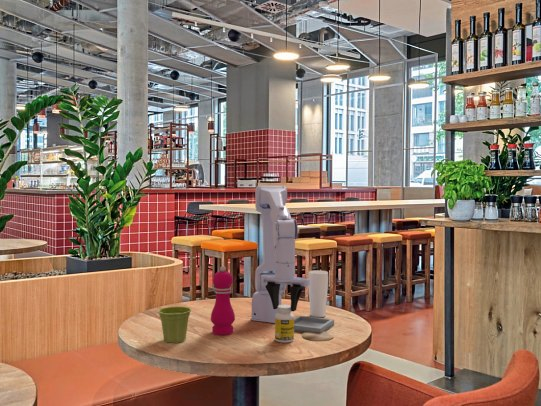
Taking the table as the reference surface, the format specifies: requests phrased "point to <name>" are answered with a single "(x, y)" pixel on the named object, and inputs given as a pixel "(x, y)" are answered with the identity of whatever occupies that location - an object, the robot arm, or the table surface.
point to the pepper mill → (222, 304)
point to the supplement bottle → (284, 324)
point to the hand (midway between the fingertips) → (284, 309)
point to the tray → (312, 324)
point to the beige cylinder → (318, 292)
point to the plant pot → (174, 323)
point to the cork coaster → (318, 336)
